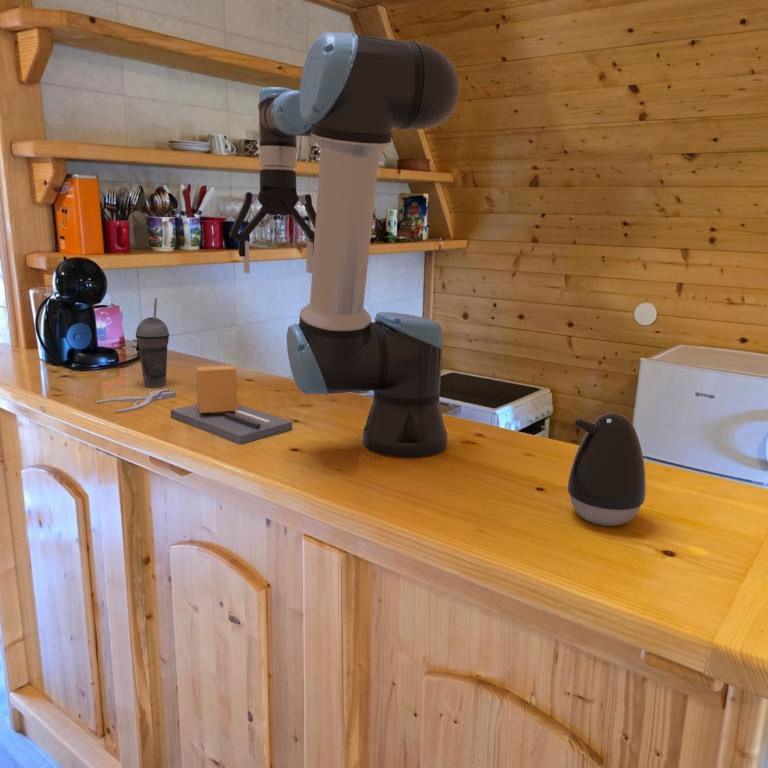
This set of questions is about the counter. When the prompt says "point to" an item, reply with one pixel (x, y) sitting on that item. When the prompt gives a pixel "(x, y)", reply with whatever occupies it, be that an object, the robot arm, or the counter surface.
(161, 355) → the beverage cup
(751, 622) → the counter surface
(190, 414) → the plate
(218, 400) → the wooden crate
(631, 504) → the pump dispenser
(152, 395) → the pliers
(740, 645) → the counter surface
